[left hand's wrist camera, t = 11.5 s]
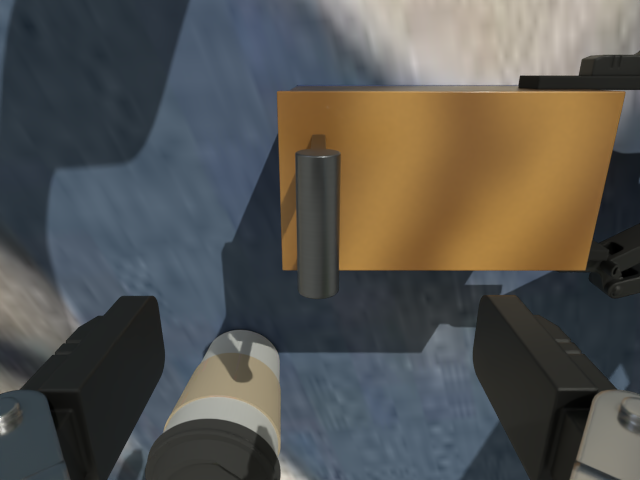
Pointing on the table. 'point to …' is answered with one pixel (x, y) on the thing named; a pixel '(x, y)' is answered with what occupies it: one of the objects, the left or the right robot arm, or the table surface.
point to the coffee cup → (225, 416)
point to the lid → (440, 180)
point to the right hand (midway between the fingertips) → (514, 170)
